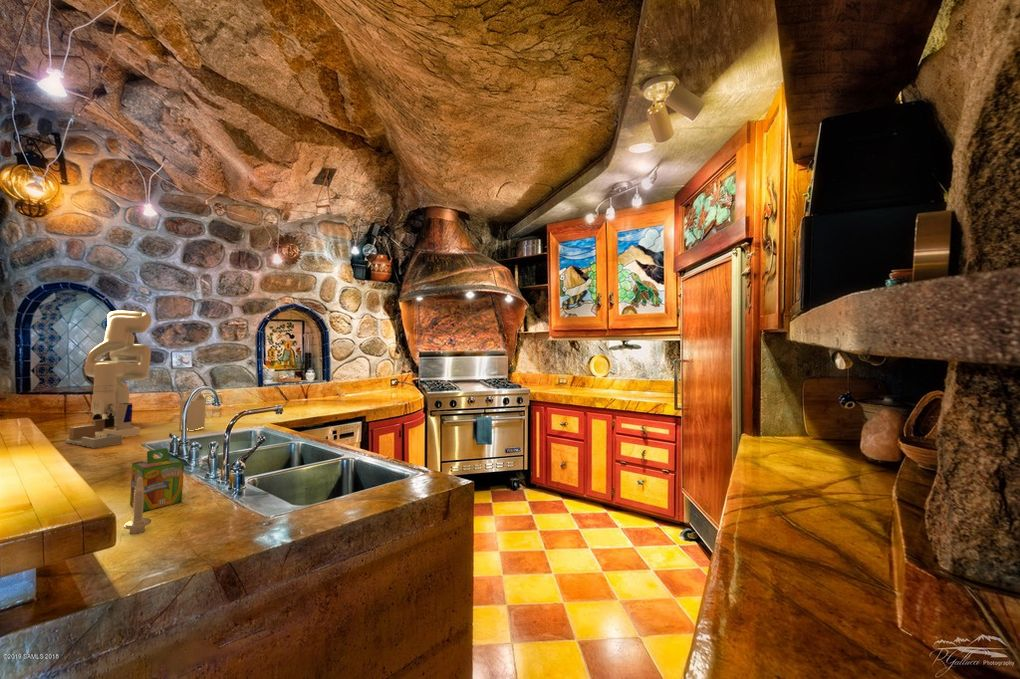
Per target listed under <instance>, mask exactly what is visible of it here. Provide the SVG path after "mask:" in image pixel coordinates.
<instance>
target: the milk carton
mask: <svg viewBox="0 0 1020 679" xmlns="http://www.w3.org/2000/svg"><path fill="white" fill-rule="evenodd" d="M192 392H193V391H189V390H188V391H186V394H184V396H183V397H182V398H181V399H180V405H179V407H180V408H179V422H178V423H179V424H178V426H179V428H178V430H179V432H182V431H181V418H182V412H183V407H184V405H185V402H186V400H187V398H188V397H189V395H190V394H191V393H192ZM199 392H200V393H199V394H198V395H197V396H196V397H195V398H194V399H193V400H192V401H191V404H190V406H189V410H188V415H187V428H188V431H187V432H190V431H189V430H195V429H198V428H201V427H204V428H205V425H206V405H207V404H206V402H207V399H206V398H205V397H204V395H202V391H199Z"/></svg>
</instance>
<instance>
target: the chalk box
mask: <svg viewBox="0 0 1020 679" xmlns="http://www.w3.org/2000/svg"><path fill="white" fill-rule="evenodd" d="M156 454H161V455H162V456H161V457H160V458H159V457H158V458H154V455H156ZM146 458H147V459H146V460H141V461H140V460H139V461H136V462H135V461H134V462H132V464H131V481H130V497H129V498H130V501H129V505H130V506H132V507H133V508H134V504H133V503H134V500H135V499H134V498H135V496H134V495H135V494H134V493H135V491H134V490H135V489H136V483H137V478H139V477H142V478H143V487H144V489H143V490H145V491H143V492H144V494H143V495H144V496H143V497H144V499H143V500H144V501H143V502H144V504H143V505H144V506H143V507H144V508H143V510H144V511H143V512H147V511H151V510H154V509H160V508H164V507H169V506H171V505H172V504H173V505H176V503H177V504H180V503H182V502H183V501H182V500H183V499H182V498H183V488H184V487H183V486H184V485H183V484H184V483H183V482H184V470H185V462H184V461H183V460H180V459H179V458H176V457H173V456H169V449H168V448H167V447H165V448H158V449H157V448H156V449H152V450H148V451H147V453H146ZM173 505H172V506H173Z"/></svg>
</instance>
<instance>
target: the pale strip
mask: <svg viewBox="0 0 1020 679" xmlns="http://www.w3.org/2000/svg"><path fill="white" fill-rule="evenodd" d="M91 425H95V435H96V436H101V437H107V433H113V434H118V435H122V439H123V437H125V438H129V436H131V437H136V435H137V436H140V431H141V430H140V429H141V427H139V426H134V425H133V426H132V425H131V428H130V429H123V430H117V431H116V426H115V418H114V426H113V427H108V428H105V427H104V426H105V419H98V420H93V419H92V420H91Z"/></svg>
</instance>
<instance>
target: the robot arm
mask: <svg viewBox="0 0 1020 679" xmlns="http://www.w3.org/2000/svg"><path fill="white" fill-rule="evenodd" d="M106 316H107V317H106V319H107V324H106V325H107V326H106V329H105V334H104V340H103V342H100V343H99V344H98V345H96V346H94V348H93V349H91V350H90V351H89V353H88V355H87V357H86V360H85V364H84V374H85V376H88V377H91V378H93V391H92V397H91V404H90V413H92V415H91V416H92V420H98V419H105V426H104V427H105V428H108V427H113V426H114V418H115V427H116V416H117V404H120V403H130V387H129V386H128V385H127V384H126V383H125V382H127V381H128V382H131V381H135V382H136V381H137V382H138V381H140V382H141V381H144V380H147V378H148V376H149V372H150V371H149V370H150V364H151V357H152V350H151V348H150V346H149V345H147V344H143V343H135V339H136V338H135V335H134V334H133V333H135V334H137V333H138V334H143V333H145V332H147V330H148V328H149V327H150V325H151V324H152V316H151V314H150V313H149V312H147V311H132V310H131V311H130V310H113V311H110V312H108V314H107V315H106ZM107 353H109V358H110V360H97V359H98V358H99V357H101V356H103V355H105V354H107Z"/></svg>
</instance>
